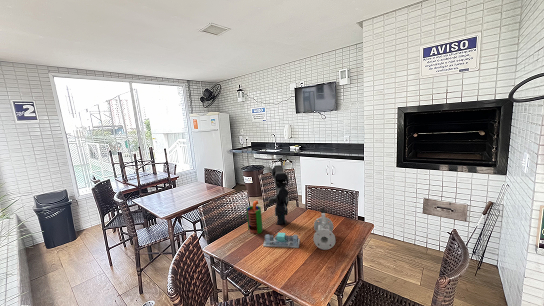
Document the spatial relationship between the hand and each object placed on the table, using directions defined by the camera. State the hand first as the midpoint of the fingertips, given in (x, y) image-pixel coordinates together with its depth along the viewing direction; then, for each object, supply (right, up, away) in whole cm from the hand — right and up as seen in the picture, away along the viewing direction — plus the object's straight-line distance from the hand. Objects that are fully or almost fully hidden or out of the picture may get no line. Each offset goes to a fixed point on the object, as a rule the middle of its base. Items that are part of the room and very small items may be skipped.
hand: (283, 216), depth 141 cm
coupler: (-1, -13, -9) cm, 16 cm away
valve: (+24, -12, -8) cm, 28 cm away
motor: (-18, -12, +9) cm, 24 cm away
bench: (-1, -14, -9) cm, 17 cm away
